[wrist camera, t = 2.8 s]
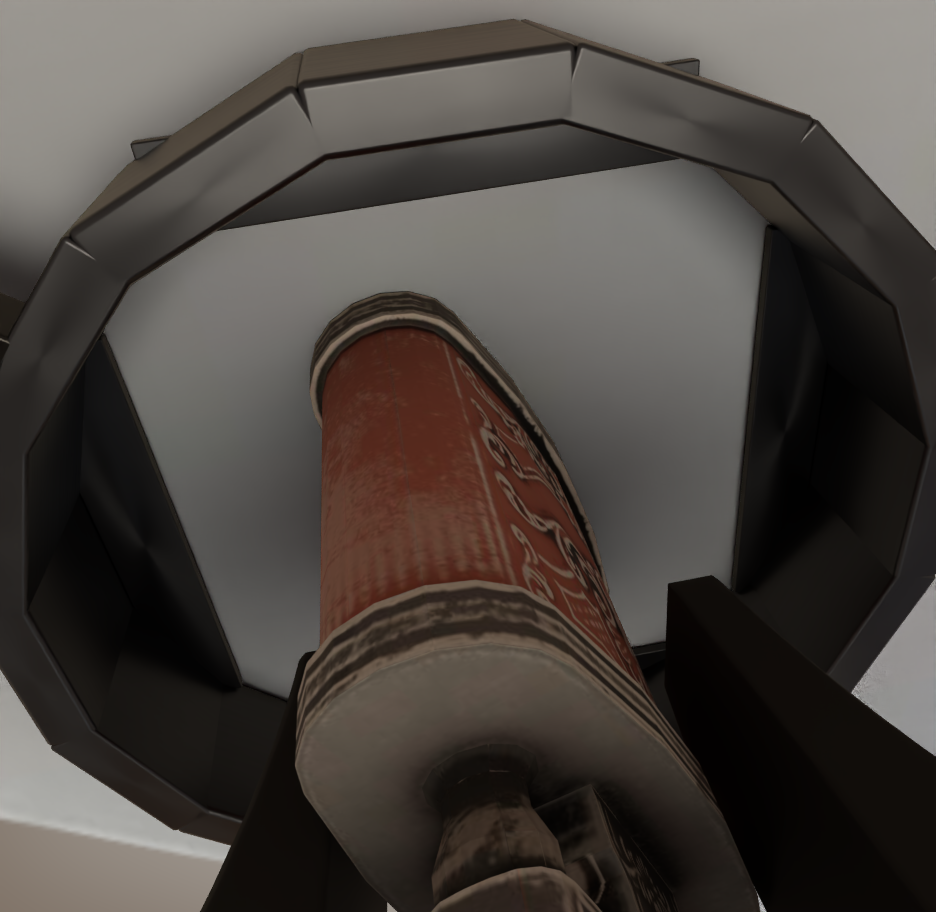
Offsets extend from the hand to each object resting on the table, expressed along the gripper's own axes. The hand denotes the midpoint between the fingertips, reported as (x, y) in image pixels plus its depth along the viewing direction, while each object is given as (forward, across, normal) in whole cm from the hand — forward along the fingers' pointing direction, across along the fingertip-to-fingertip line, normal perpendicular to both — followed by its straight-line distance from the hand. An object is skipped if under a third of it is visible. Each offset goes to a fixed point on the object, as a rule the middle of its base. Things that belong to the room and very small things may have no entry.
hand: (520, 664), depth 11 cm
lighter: (+5, 0, 0) cm, 5 cm away
